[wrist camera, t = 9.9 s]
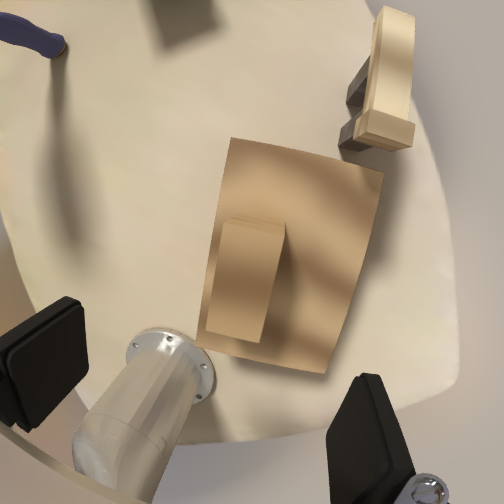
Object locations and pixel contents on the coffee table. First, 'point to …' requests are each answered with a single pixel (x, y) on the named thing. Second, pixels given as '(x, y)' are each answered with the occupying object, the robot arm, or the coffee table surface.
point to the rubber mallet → (30, 36)
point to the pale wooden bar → (389, 83)
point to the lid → (285, 254)
